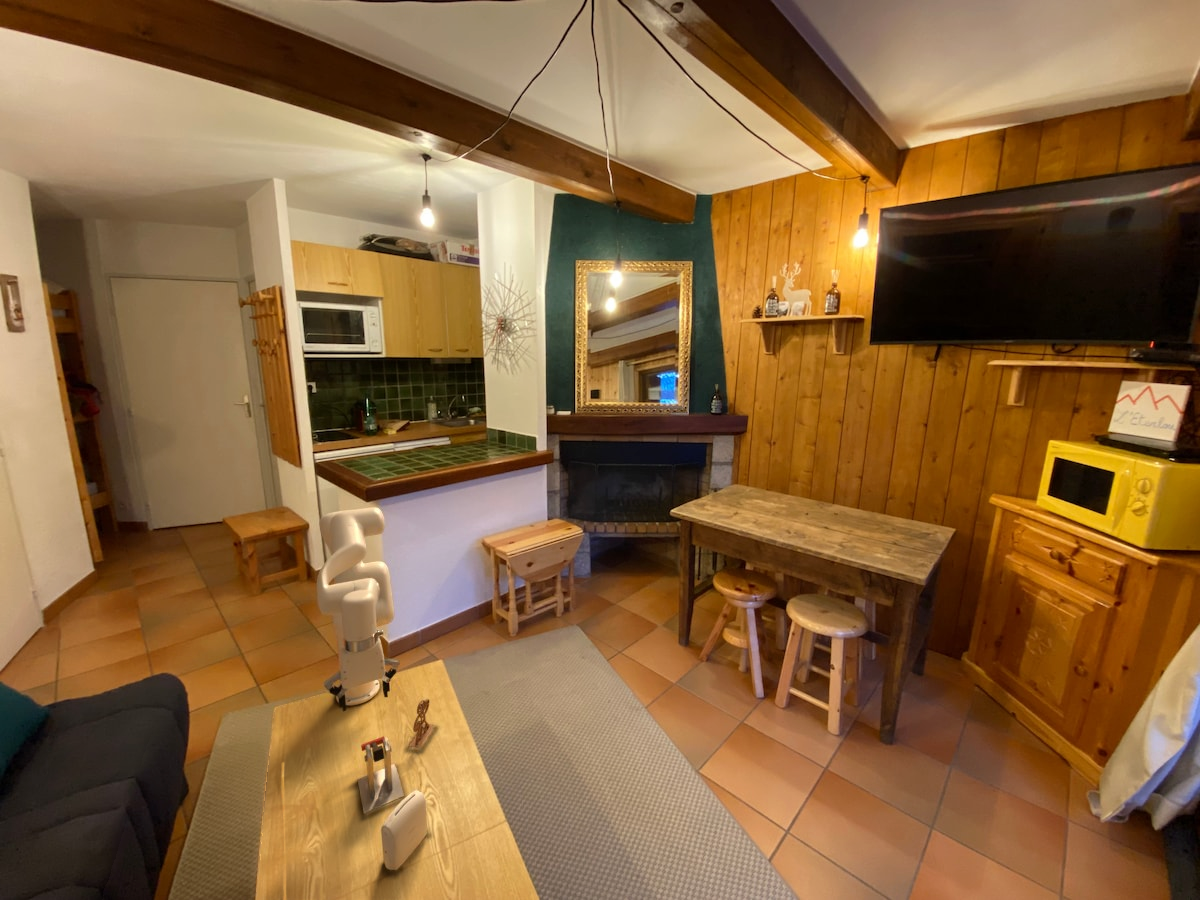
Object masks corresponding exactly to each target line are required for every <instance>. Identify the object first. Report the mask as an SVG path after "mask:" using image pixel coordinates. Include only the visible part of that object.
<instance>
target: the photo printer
mask: <svg viewBox="0 0 1200 900" xmlns="http://www.w3.org/2000/svg"><path fill="white" fill-rule="evenodd" d="M427 816H428V814H427V799H426V797H425V794H423V792H422V791H419V790H418V789H417V790H414V791H412V792H411V793H409V794H408V795H407V796H405V798H403V799H402V800H401V801H400V802H399V803H398V804H397V805H396V806H395V808H394V809H392V811H391V812H390V814H389V815H388V816H387V817H386V818H385V820H384V822H383V824H382V826H381V829H380V833H381V834H380V835H381V846H382V859H383V860H382V861H383V864H384V866H385V868H386V869H387V870H390V871H393V870H394V871H397V870H398V869H399V868H400V867H401V866H402V865H403V864H404V863H405V862H406V860H407V859H408V858H409V857H410V856H411V855H412V853H414V851H415V850H416V849H417V848H418V846H419V845H420V844H421V843H422V841H424V839H425V837H426V835H428V817H427Z"/></svg>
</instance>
